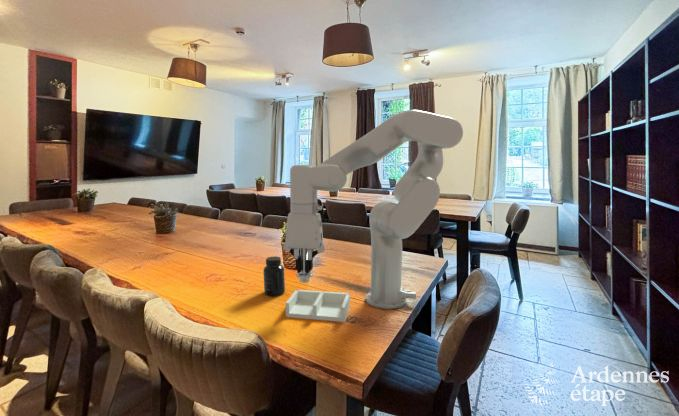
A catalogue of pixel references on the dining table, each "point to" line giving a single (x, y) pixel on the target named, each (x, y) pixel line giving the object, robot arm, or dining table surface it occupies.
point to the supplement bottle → (274, 277)
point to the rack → (318, 305)
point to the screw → (304, 268)
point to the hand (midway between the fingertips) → (304, 271)
